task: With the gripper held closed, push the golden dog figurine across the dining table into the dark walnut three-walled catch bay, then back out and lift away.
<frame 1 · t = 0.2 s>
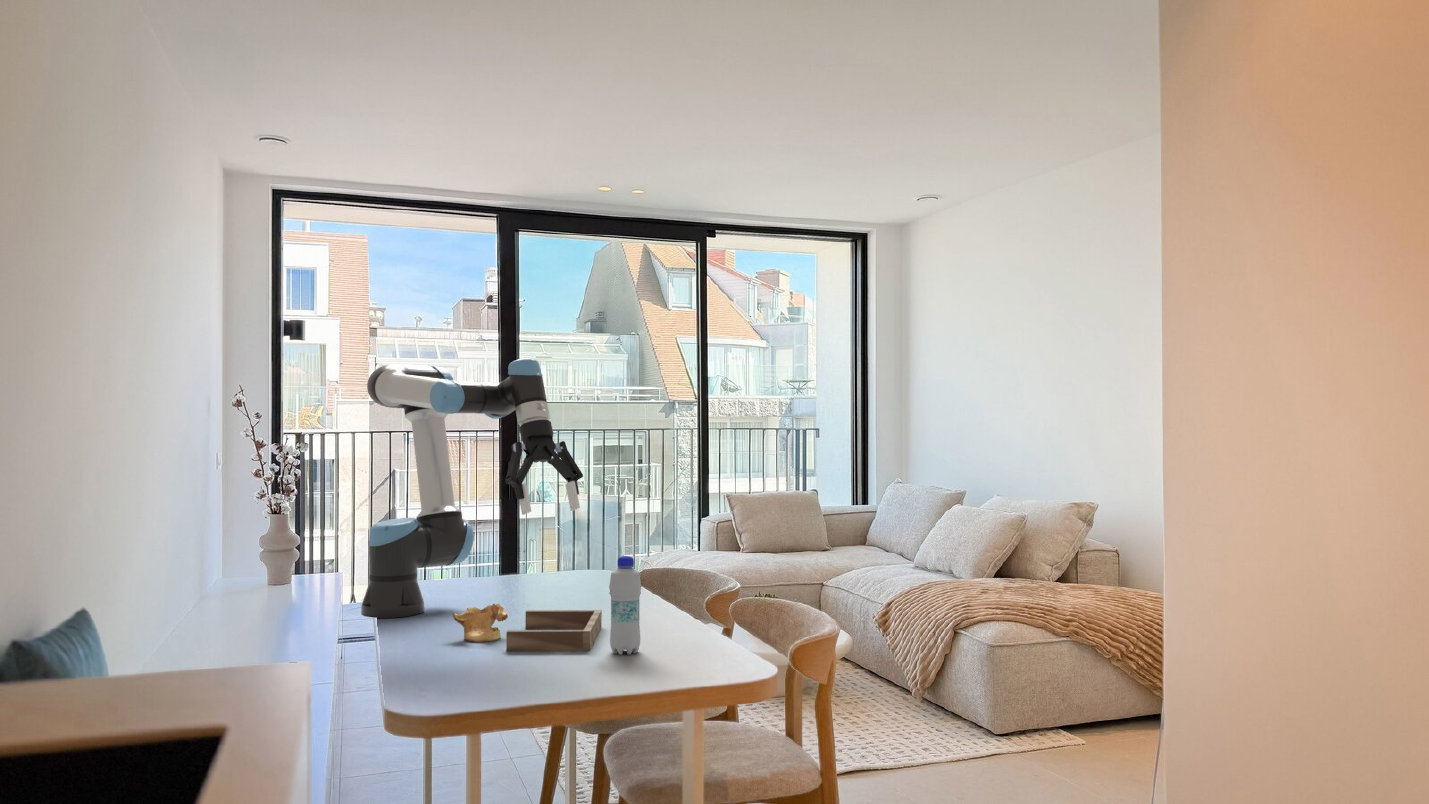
hand: (551, 511, 224), 28 cm above the table, tool tilted 20°, fingers open, 13 cm apart
catch bay: (553, 638, 217), on the table
golden dog figurine: (481, 640, 217), on the table
bottle: (625, 653, 203), on the table
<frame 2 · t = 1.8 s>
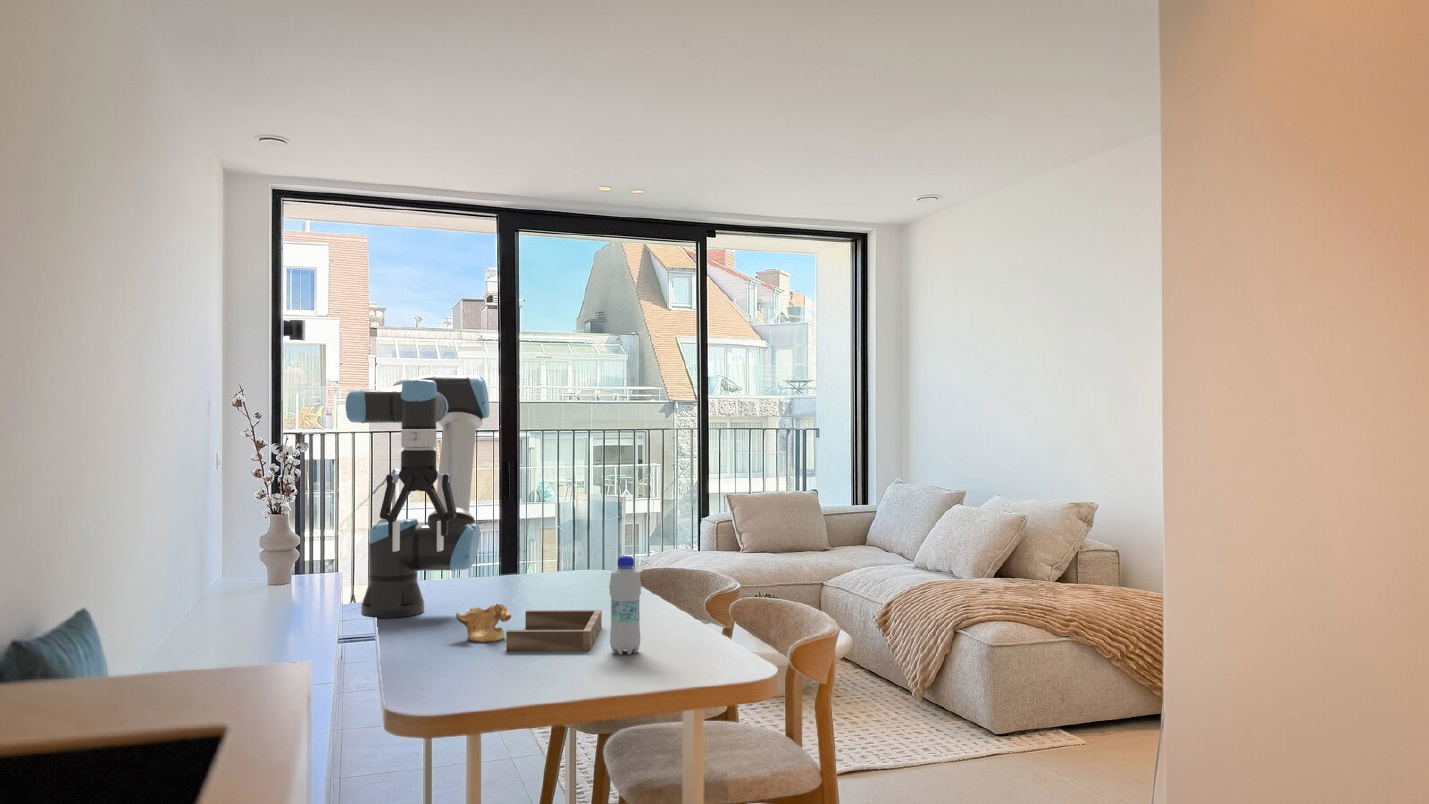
hand: (418, 550, 217), 19 cm above the table, tool pointing down, fingers open, 9 cm apart
nothing on the table moved.
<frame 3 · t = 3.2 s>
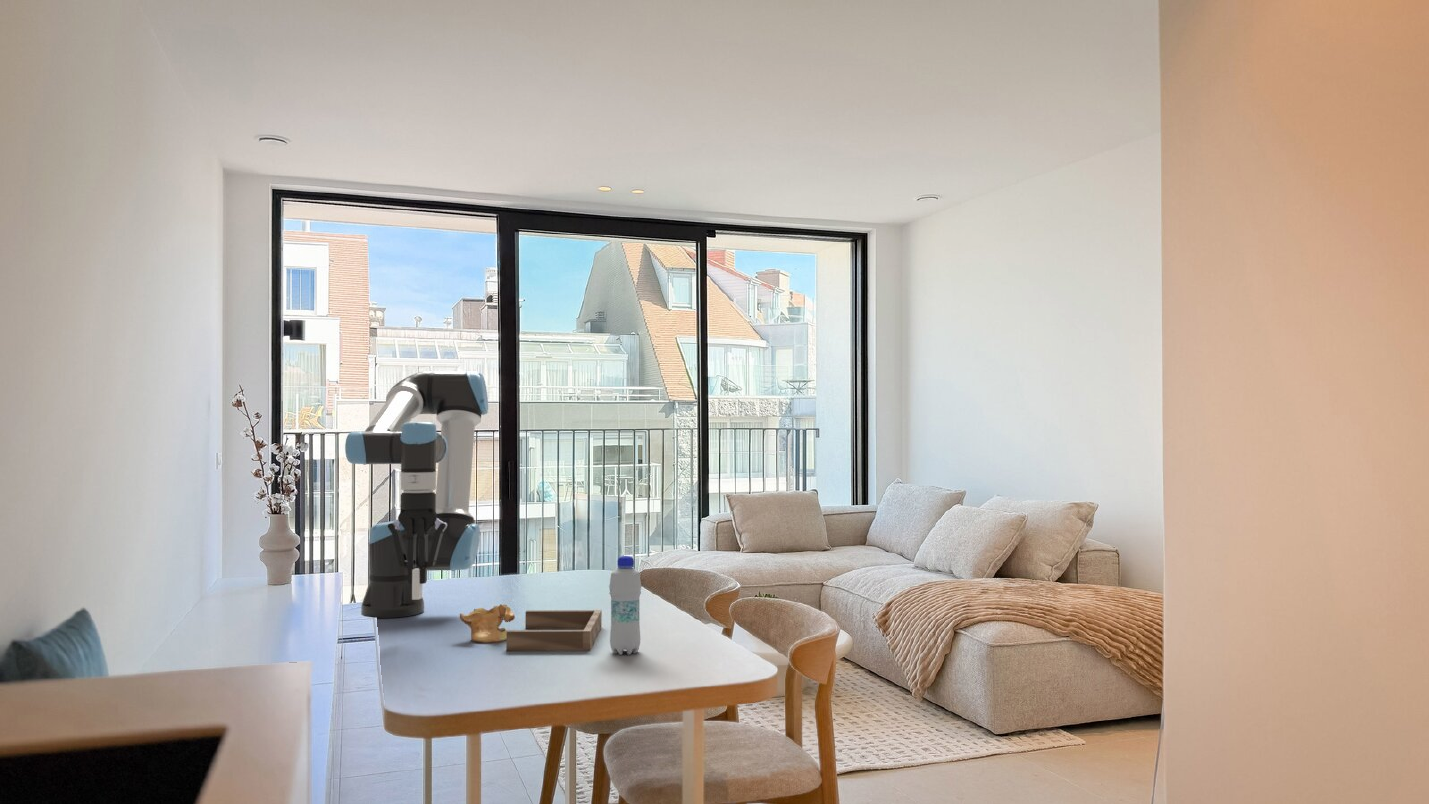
hand: (417, 598, 216), 9 cm above the table, tool pointing down, fingers closed
golden dog figurine: (488, 641, 216), on the table
everything else where it was.
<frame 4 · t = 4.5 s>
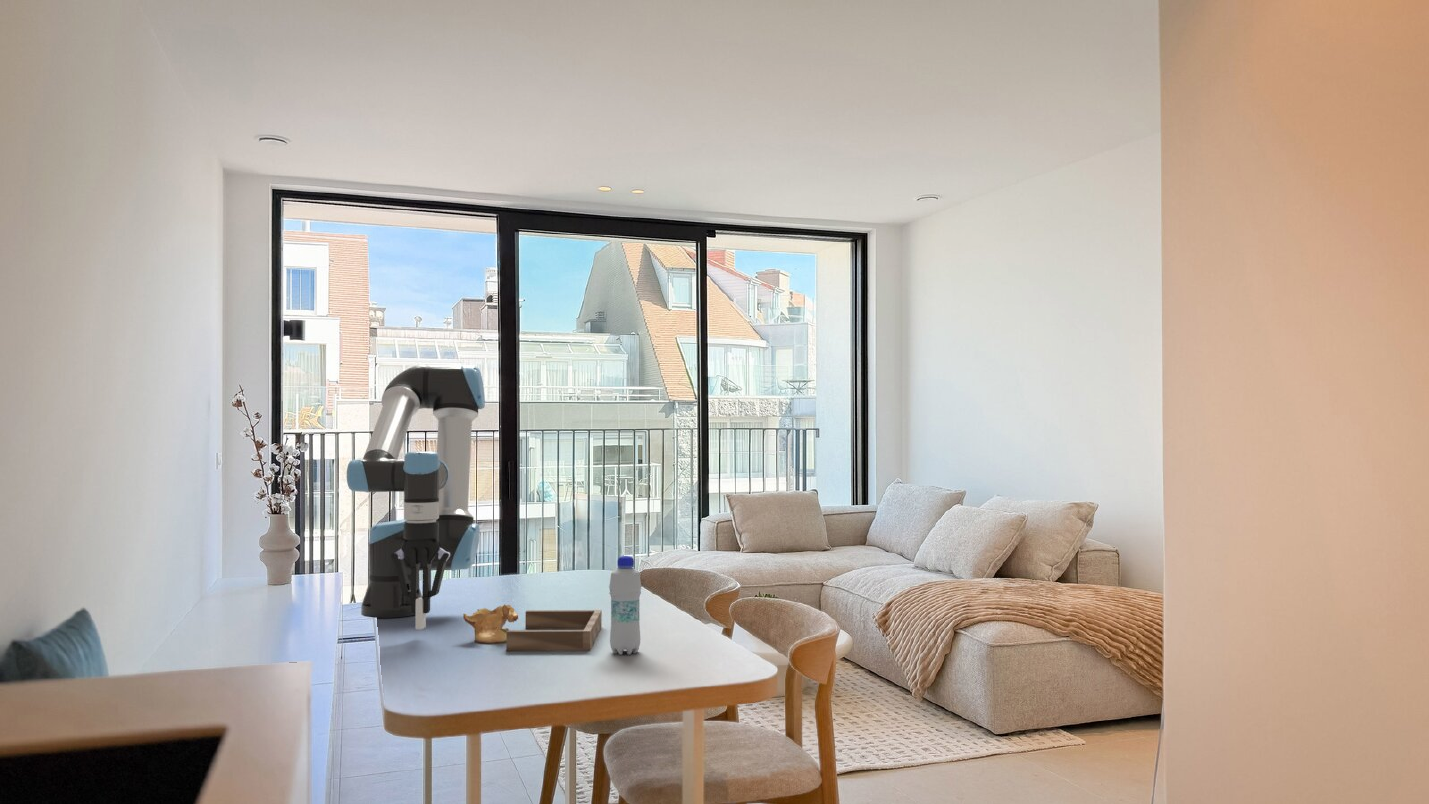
hand: (420, 627, 217), 2 cm above the table, tool pointing down, fingers closed
nothing on the table moved.
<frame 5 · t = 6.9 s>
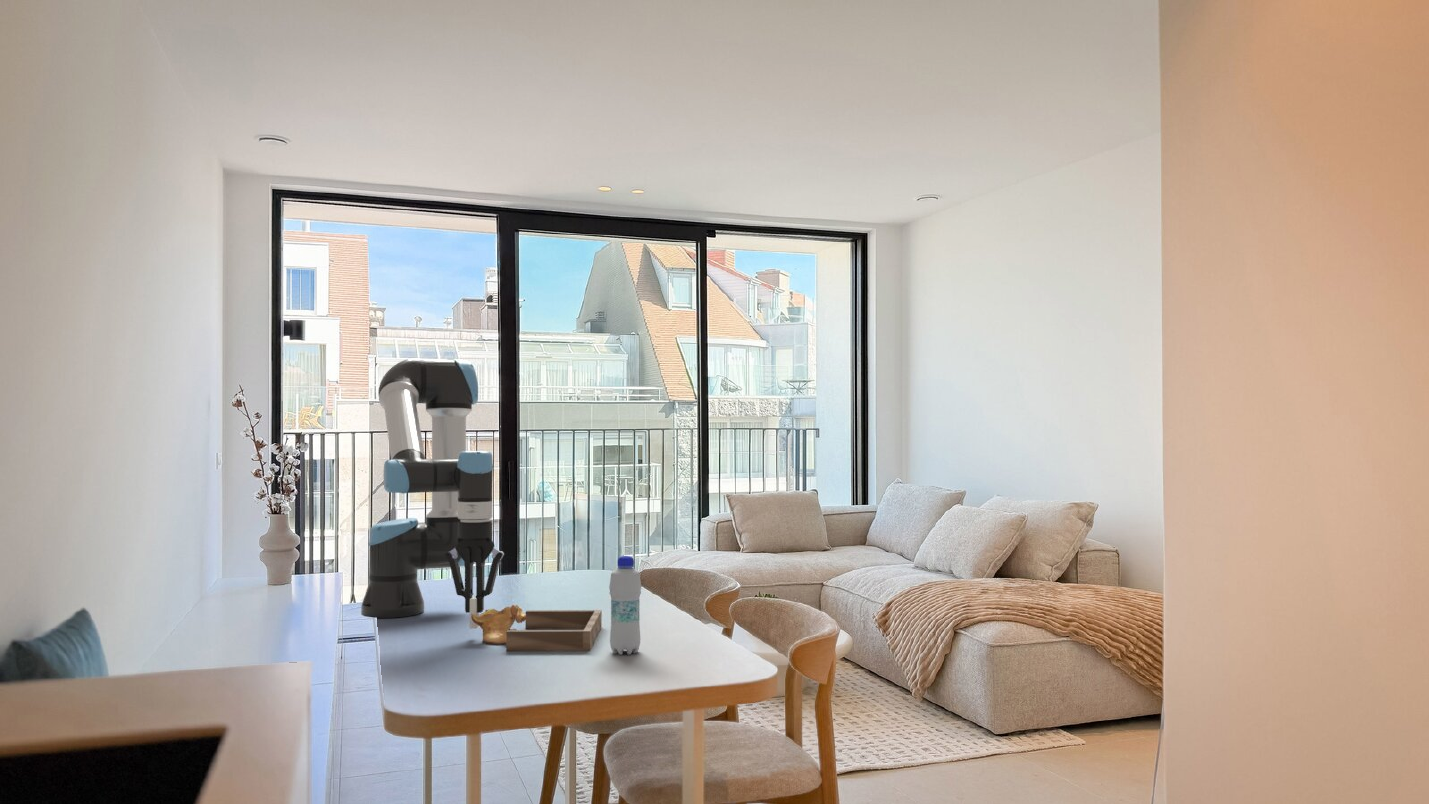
hand: (474, 627, 217), 3 cm above the table, tool pointing down, fingers closed
golden dog figurine: (500, 642, 214), on the table, touching gripper
everything else where it was.
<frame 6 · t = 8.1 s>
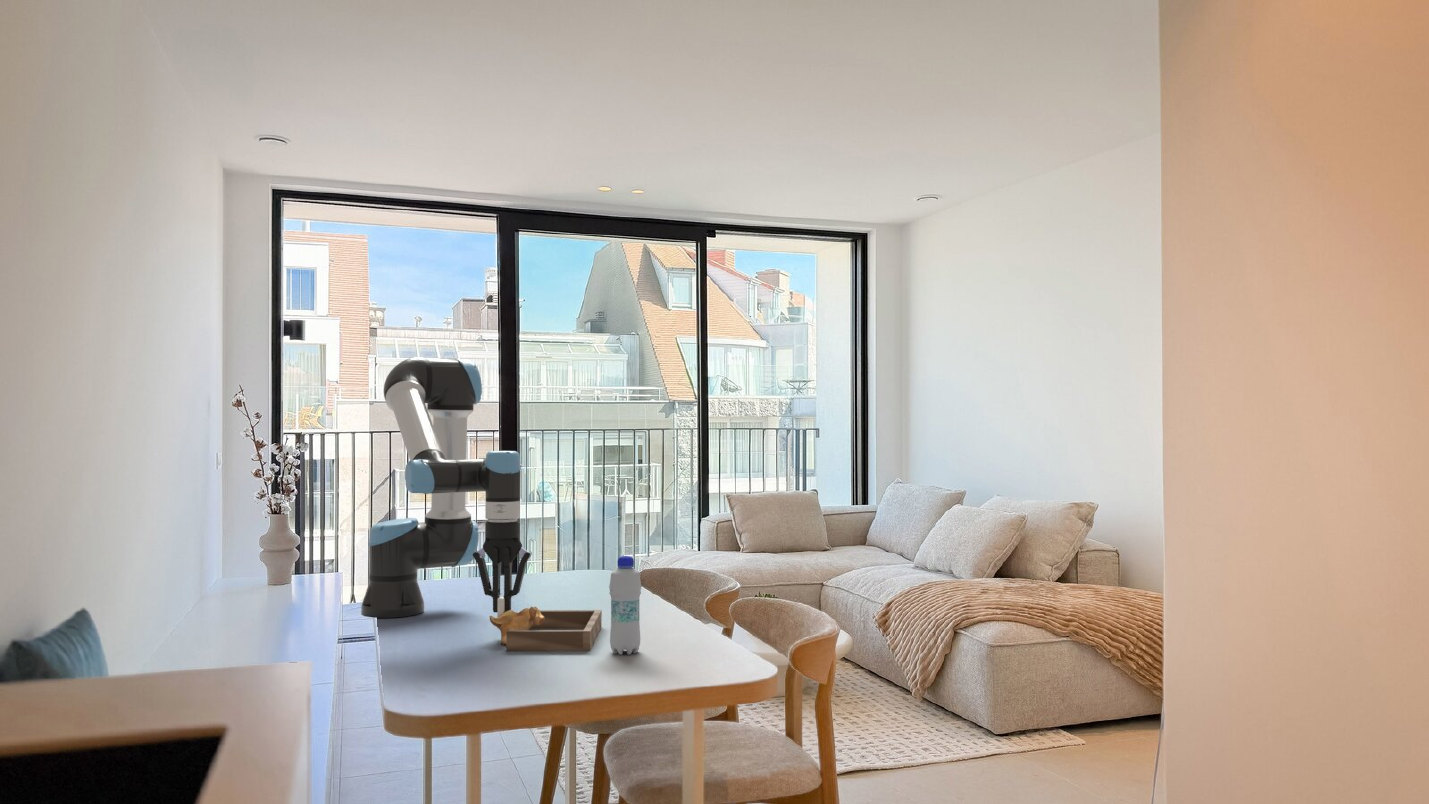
hand: (501, 627, 217), 3 cm above the table, tool pointing down, fingers closed
golden dog figurine: (519, 643, 213), on the table, touching gripper
everything else where it was.
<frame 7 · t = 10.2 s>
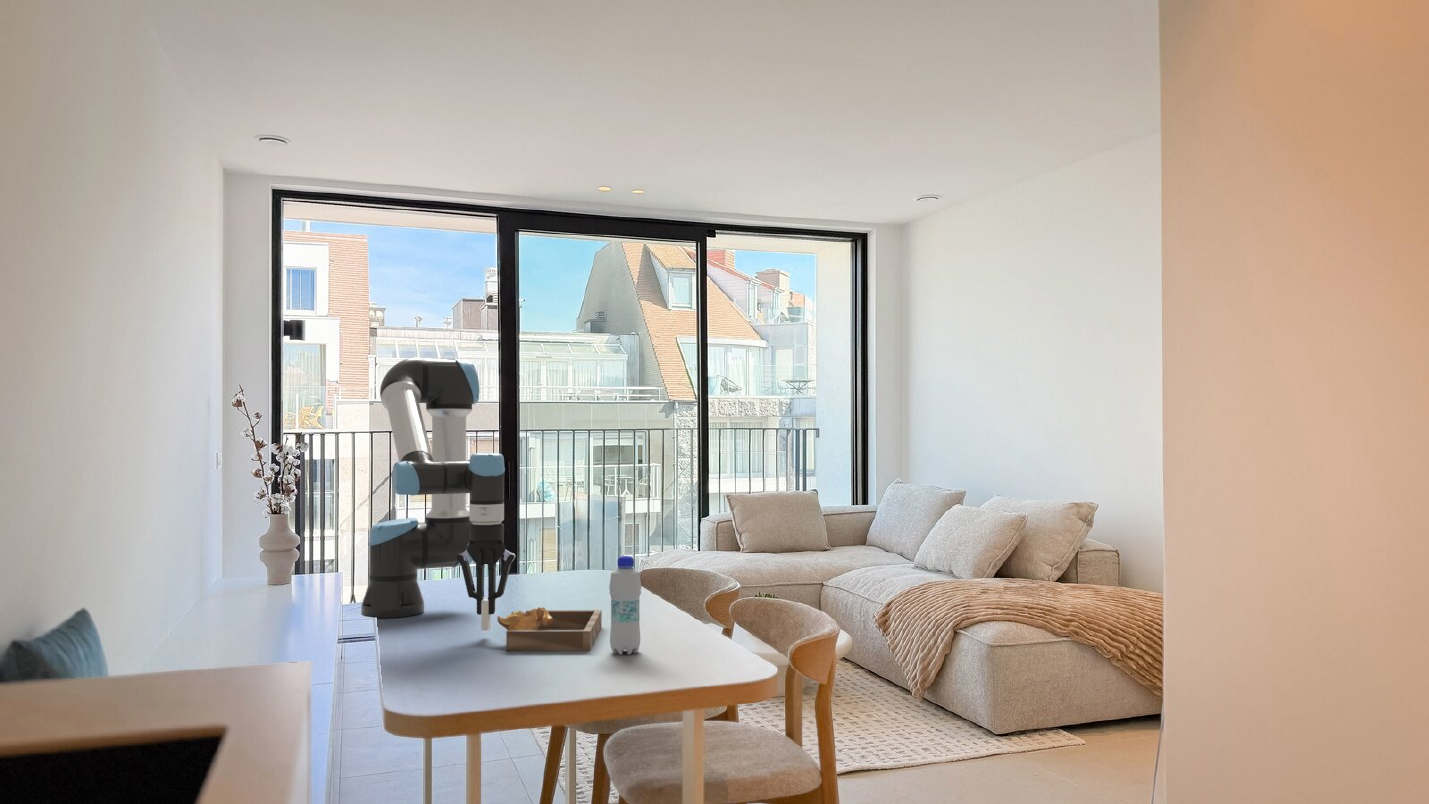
hand: (485, 629, 217), 2 cm above the table, tool pointing down, fingers closed
golden dog figurine: (526, 644, 212), on the table
everything else where it was.
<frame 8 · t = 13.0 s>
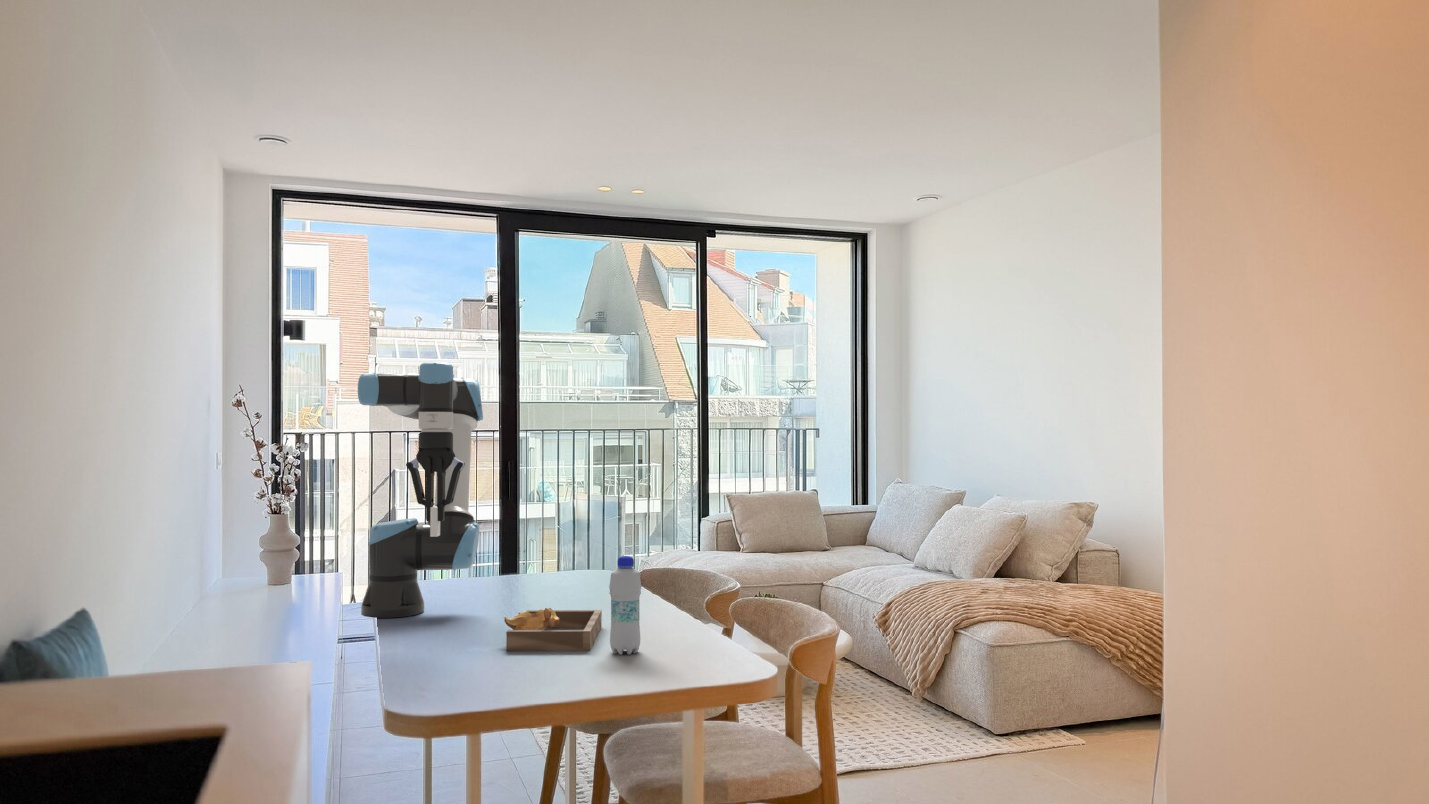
hand: (435, 535, 220), 22 cm above the table, tool pointing down, fingers closed
golden dog figurine: (533, 645, 211), on the table
everything else where it was.
at the end: golden dog figurine inside the target area on the catch bay (7.0 cm from its centre), point 0.0 cm above the catch bay's base; golden dog figurine moved 13.9 cm from its start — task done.
